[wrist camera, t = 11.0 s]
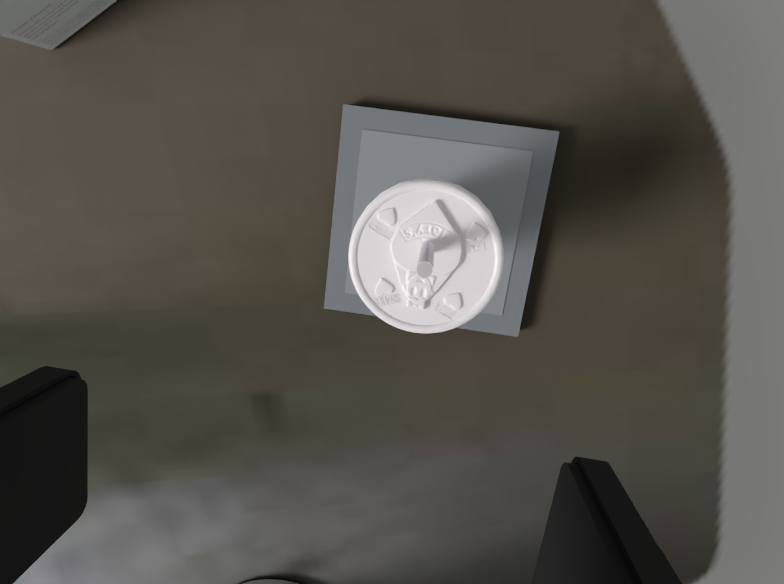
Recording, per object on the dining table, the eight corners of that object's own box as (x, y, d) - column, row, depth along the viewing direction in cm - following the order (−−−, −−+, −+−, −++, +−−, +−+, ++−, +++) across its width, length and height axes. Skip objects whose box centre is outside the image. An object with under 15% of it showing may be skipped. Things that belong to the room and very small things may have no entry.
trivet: (515, 331, 32) (518, 337, 31) (327, 303, 33) (323, 308, 32) (555, 132, 29) (559, 131, 28) (346, 105, 30) (342, 104, 29)
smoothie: (496, 182, 29) (545, 204, 16) (472, 290, 31) (498, 395, 17) (384, 162, 29) (337, 168, 16) (367, 271, 31) (311, 359, 18)
